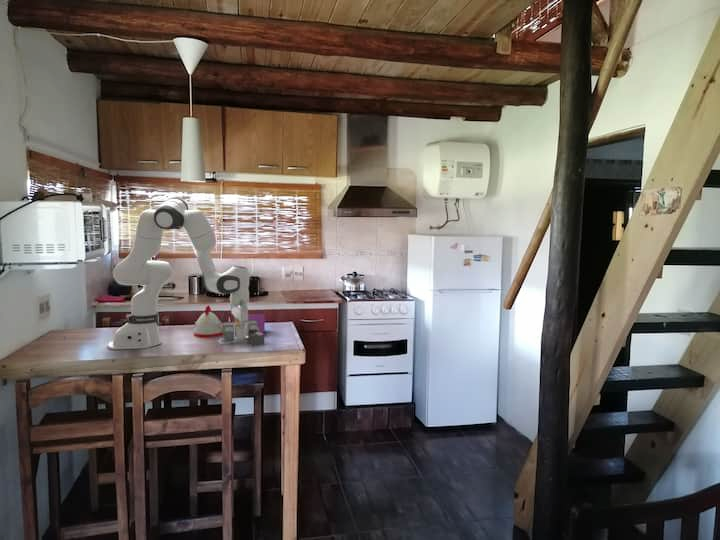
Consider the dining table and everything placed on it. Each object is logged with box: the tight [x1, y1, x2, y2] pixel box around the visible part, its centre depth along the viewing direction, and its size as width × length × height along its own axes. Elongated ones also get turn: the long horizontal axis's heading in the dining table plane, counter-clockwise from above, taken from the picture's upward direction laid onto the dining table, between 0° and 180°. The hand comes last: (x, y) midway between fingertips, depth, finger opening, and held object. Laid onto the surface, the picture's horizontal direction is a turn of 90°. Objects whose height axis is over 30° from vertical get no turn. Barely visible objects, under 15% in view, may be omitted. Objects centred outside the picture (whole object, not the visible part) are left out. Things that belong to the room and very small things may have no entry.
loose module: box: [233, 321, 246, 339], centre depth 234 cm, size 5×4×7 cm
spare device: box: [247, 332, 265, 347], centre depth 229 cm, size 6×5×5 cm
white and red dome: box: [193, 305, 222, 339], centre depth 246 cm, size 14×14×15 cm
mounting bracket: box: [245, 313, 266, 335], centre depth 250 cm, size 10×8×18 cm
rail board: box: [217, 321, 258, 345], centre depth 234 cm, size 20×7×9 cm, turn 116°
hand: (239, 327), depth 234 cm, fingers open, 8 cm apart
